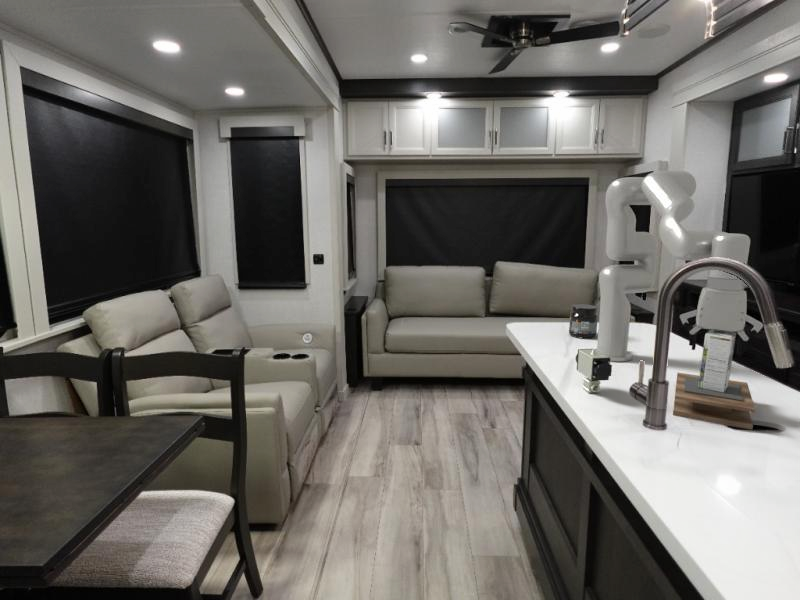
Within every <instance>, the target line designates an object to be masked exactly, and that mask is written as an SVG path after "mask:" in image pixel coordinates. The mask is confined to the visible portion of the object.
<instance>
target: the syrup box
mask: <svg viewBox="0 0 800 600" xmlns="http://www.w3.org/2000/svg"><path fill="white" fill-rule="evenodd" d="M736 335H737V333H736V332H729V331H720V330H711V329H708V331H707V332H706V333H705V335H704V341H703V349H702V356H701V361H700V369H699V370H700V371H699V375H698V376H699V383H698V387H699V388H703V389H708V390H713V391H718V392H723V393H724V392H725V390H726V389H727V387H728V383H729V380H730V377H731V376H730V375H731V369H732V363H733V362H732V361H733V356H734V349H735V344H736V343H735V342H736Z"/></svg>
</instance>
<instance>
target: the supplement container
mask: <svg viewBox="0 0 800 600" xmlns="http://www.w3.org/2000/svg"><path fill="white" fill-rule="evenodd" d="M598 321H599V315H598V306H596V305H592V304H585V303H584V304H582V303H581V304H580V303H579V304H572V306H571V312H570V314H569V327H568V334H569V335H570V336H571V335H572V336H571V337H573V336H576V337H575V338H577V337H582V338H581V339H585V338H588V339H593V338H592V337H594V338H596V337H597V336H598V332H597V331H598Z"/></svg>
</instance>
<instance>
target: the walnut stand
mask: <svg viewBox="0 0 800 600" xmlns="http://www.w3.org/2000/svg"><path fill="white" fill-rule="evenodd" d="M699 376H700V375H697V374H689V373H684V372H679V371H678V372H677V374H676V381H675V382H676V385H675V393H674V401H673V412H672V415H673V416H677V417H682V418H688V419H693V420H698V421H703V422H710V423H714V424H719V425H725V426H730V427H736V428H740V429H744V430H745V429H746V430H751V431H752V430H754V429H753V427H754V423H753V419H752V416H751V413H756V408H755V405H754V400H753V397H752V393H751V391H750V388H749V384H748V382H746V381H738V380H731V379H729V383H728V387H727V389H726V390H725V392H724V393H723V392H718V391H713V390H708V389H703V388H699V387H698V383H699Z"/></svg>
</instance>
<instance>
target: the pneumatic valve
mask: <svg viewBox="0 0 800 600" xmlns="http://www.w3.org/2000/svg"><path fill="white" fill-rule="evenodd" d="M595 349H596V348H579V349H577V353H576V355H575V362H576V371H577V372H579V373H580V374H582V375H583V376H585V377H583V378H582V380H583V381H582V383H583V384H582V389H583V390H584V391H585V392H587V393H588V394H591V393H597V394H598V393H600V392H601V391H600V389H601V385H600V384H601V381H609V380H610V377H612V368H613V364H611V361H610V358H609V357H607V356H606V354H604V353H600V352H598V351H596V350H595Z"/></svg>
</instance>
